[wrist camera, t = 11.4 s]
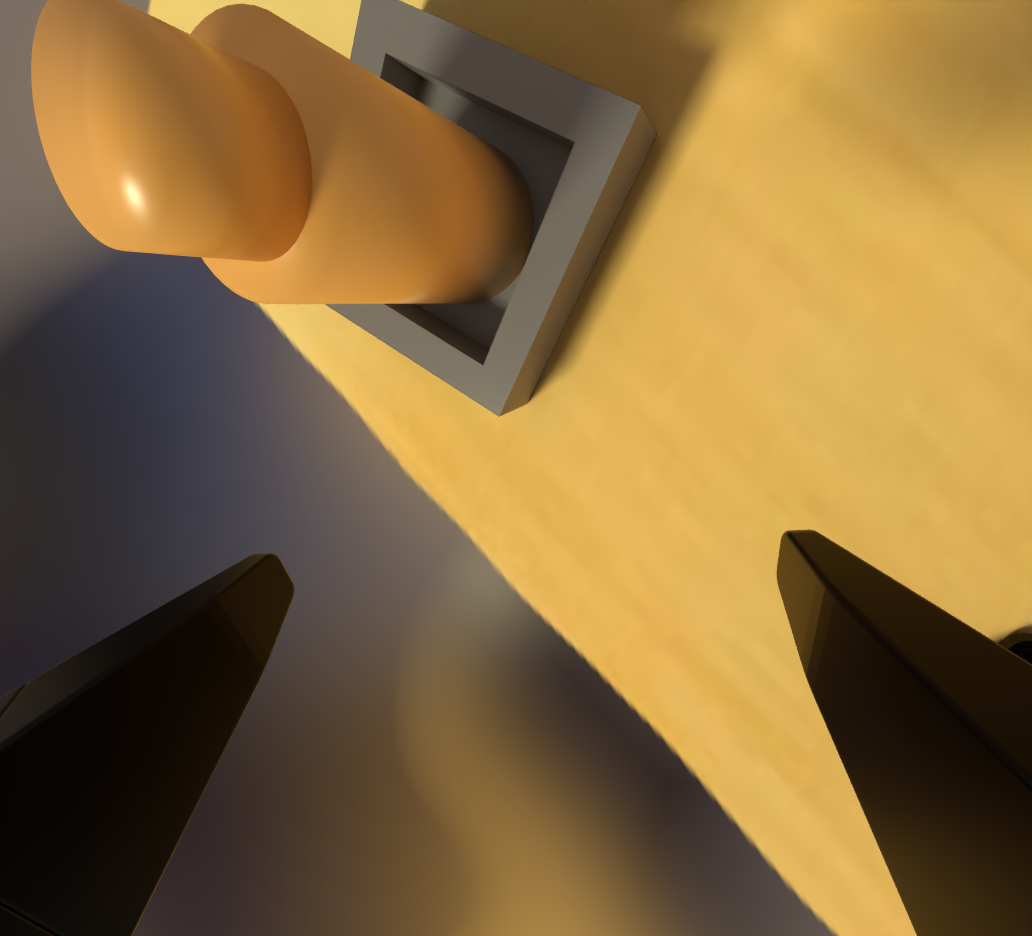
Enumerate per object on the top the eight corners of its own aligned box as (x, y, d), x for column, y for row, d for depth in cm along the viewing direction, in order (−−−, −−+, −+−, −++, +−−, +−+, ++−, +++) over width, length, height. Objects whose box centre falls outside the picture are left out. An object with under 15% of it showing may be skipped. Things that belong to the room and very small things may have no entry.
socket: (657, 134, 16) (641, 105, 14) (527, 403, 22) (499, 416, 19) (413, 25, 19) (364, -15, 16) (349, 292, 24) (305, 291, 22)
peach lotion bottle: (547, 149, 17) (190, -118, 6) (518, 316, 20) (223, 335, 9) (415, 135, 19) (-36, -89, 8) (403, 288, 22) (43, 275, 11)
